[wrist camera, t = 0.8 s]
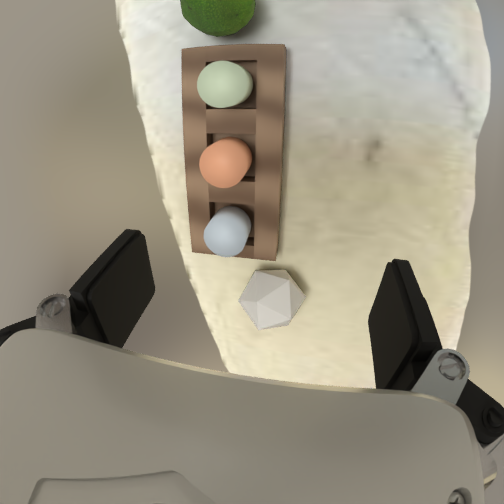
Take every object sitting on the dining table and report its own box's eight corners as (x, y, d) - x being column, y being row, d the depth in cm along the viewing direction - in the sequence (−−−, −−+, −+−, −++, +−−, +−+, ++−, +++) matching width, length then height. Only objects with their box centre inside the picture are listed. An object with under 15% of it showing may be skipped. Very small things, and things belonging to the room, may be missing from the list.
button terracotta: (209, 136, 34) (198, 142, 30) (252, 137, 33) (245, 143, 30) (210, 176, 37) (200, 187, 33) (251, 178, 36) (245, 189, 32)
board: (190, 51, 31) (181, 48, 28) (286, 48, 29) (284, 44, 27) (198, 242, 45) (192, 252, 43) (277, 250, 44) (275, 261, 41)
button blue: (212, 204, 39) (202, 217, 35) (251, 207, 38) (245, 220, 34) (213, 239, 41) (205, 254, 38) (251, 243, 40) (245, 259, 37)
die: (263, 308, 51) (296, 345, 43) (221, 298, 46) (250, 340, 38) (288, 266, 49) (327, 298, 41) (247, 250, 44) (284, 285, 36)
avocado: (271, -2, 26) (255, -37, 16) (245, 49, 30) (218, 32, 20) (213, -18, 25) (177, -51, 15) (189, 31, 29) (143, 14, 19)
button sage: (208, 64, 29) (196, 62, 26) (253, 63, 28) (246, 59, 25) (209, 106, 32) (197, 108, 28) (252, 105, 31) (245, 107, 28)
